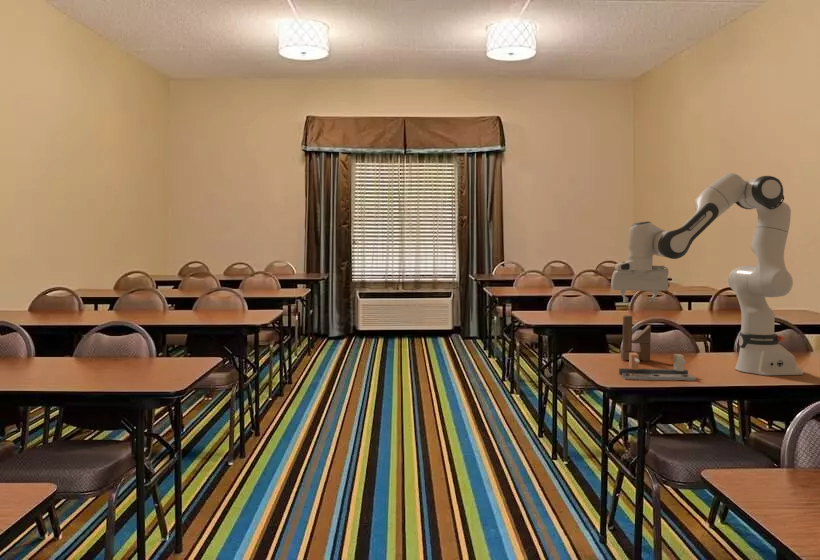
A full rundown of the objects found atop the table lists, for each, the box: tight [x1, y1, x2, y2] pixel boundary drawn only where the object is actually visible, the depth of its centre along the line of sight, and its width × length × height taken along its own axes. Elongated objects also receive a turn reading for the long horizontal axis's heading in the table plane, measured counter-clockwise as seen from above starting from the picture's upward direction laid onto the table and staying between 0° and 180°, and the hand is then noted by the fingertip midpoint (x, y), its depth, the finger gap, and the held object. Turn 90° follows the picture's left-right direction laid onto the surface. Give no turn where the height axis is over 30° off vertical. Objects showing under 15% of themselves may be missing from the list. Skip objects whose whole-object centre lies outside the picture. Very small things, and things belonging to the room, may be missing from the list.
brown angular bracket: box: [620, 315, 652, 362], centre depth 283 cm, size 4×11×18 cm, turn 84°
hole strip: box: [621, 373, 697, 382], centre depth 249 cm, size 24×5×1 cm, turn 85°
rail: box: [618, 353, 689, 375], centre depth 253 cm, size 24×10×7 cm, turn 85°
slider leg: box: [628, 353, 641, 370], centre depth 254 cm, size 2×10×5 cm, turn 175°
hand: (638, 302), depth 262 cm, fingers open, 8 cm apart
